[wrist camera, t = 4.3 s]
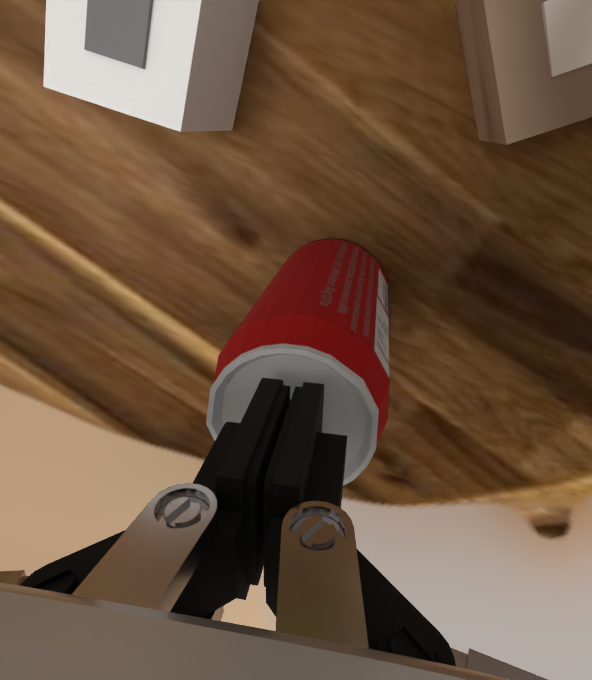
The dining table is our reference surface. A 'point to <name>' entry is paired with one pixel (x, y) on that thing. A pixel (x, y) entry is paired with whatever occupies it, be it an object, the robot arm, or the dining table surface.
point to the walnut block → (527, 65)
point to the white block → (152, 57)
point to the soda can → (316, 345)
